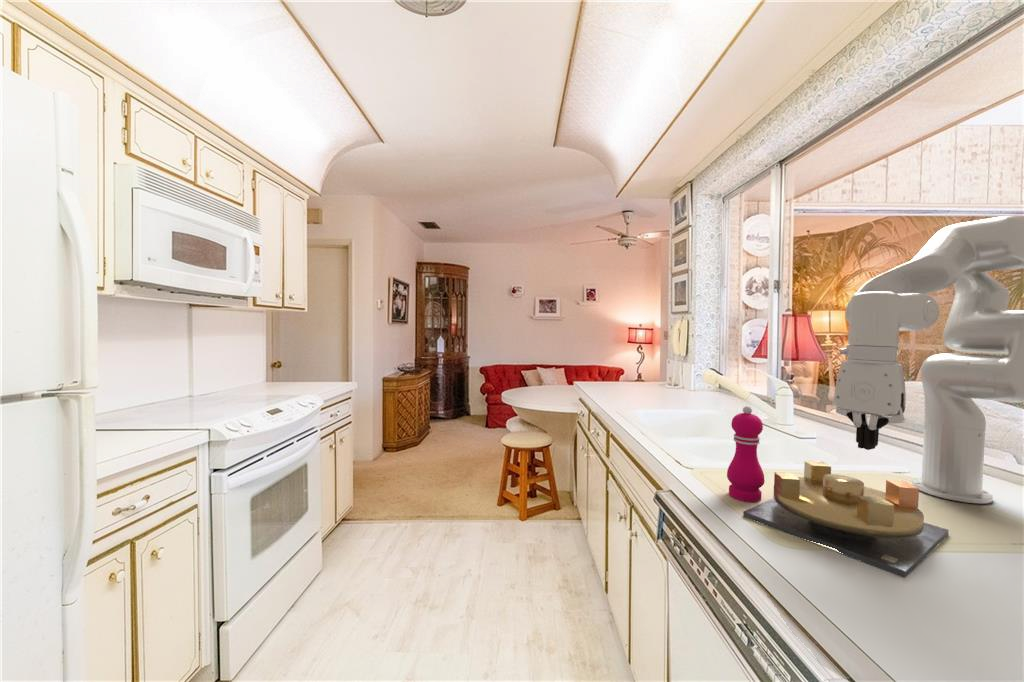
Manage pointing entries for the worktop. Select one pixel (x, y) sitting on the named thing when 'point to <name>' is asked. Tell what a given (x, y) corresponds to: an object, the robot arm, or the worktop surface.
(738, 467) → the pepper mill
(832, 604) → the worktop surface
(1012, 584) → the worktop surface
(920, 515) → the brass lugged disc
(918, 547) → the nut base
